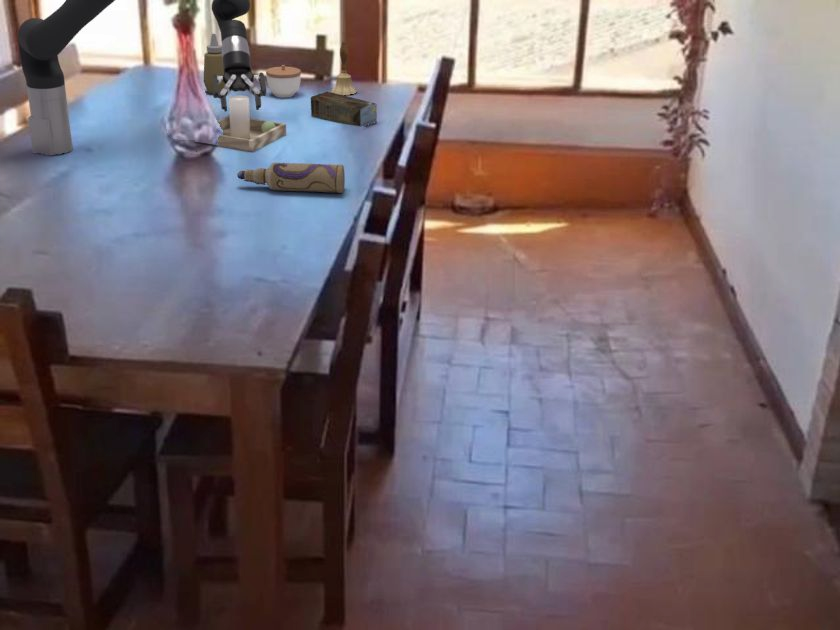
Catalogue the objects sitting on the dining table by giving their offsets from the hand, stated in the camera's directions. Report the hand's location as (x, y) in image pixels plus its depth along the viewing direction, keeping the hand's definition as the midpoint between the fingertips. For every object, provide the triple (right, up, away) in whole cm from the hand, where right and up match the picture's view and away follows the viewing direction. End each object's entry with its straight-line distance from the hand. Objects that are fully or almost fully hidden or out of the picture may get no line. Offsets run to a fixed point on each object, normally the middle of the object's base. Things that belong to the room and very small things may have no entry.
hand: (241, 109), depth 287 cm
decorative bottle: (+18, -25, -30) cm, 43 cm away
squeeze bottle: (-16, +14, +47) cm, 52 cm away
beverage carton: (+26, +1, +24) cm, 35 cm away
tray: (-1, -8, +3) cm, 8 cm away
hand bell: (+24, +15, +51) cm, 59 cm away
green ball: (+7, -6, +5) cm, 10 cm away
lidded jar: (+6, +13, +46) cm, 48 cm away
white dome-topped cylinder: (-1, -7, +2) cm, 8 cm away
